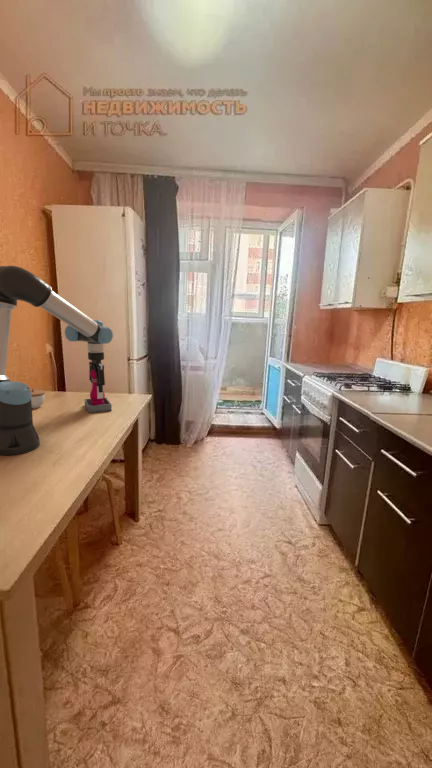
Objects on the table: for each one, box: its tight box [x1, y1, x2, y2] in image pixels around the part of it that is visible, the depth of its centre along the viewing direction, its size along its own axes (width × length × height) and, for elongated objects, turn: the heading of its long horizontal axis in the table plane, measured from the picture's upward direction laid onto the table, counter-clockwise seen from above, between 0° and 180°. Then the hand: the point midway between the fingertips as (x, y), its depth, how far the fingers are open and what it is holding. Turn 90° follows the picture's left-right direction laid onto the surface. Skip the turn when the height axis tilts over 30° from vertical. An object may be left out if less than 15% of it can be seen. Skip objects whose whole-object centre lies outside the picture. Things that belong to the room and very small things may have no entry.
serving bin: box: [84, 397, 113, 414], centre depth 176 cm, size 14×11×4 cm
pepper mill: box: [89, 369, 106, 405], centre depth 173 cm, size 7×7×20 cm
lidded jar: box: [30, 388, 46, 409], centre depth 173 cm, size 11×11×9 cm
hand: (97, 396), depth 175 cm, fingers closed on pepper mill, 7 cm apart
